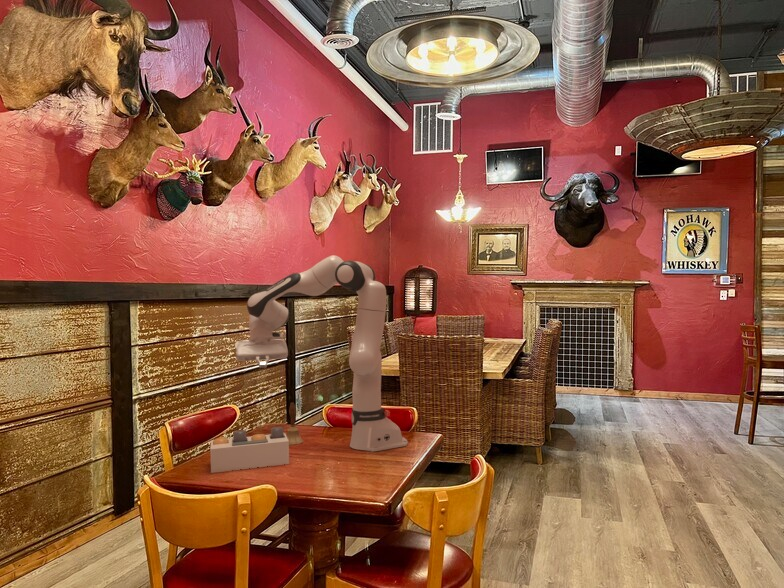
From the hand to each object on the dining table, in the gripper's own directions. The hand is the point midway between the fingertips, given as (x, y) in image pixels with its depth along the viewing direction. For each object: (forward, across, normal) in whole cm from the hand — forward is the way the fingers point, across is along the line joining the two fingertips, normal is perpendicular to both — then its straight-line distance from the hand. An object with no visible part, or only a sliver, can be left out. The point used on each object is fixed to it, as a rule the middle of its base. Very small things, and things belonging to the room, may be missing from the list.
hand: (263, 366), depth 212 cm
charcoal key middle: (+31, -10, +7) cm, 33 cm away
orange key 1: (+33, -16, +8) cm, 37 cm away
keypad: (+36, -6, +8) cm, 37 cm away
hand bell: (+20, +11, +24) cm, 34 cm away
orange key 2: (+33, -3, +8) cm, 34 cm away
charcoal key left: (+31, +3, +7) cm, 32 cm away
